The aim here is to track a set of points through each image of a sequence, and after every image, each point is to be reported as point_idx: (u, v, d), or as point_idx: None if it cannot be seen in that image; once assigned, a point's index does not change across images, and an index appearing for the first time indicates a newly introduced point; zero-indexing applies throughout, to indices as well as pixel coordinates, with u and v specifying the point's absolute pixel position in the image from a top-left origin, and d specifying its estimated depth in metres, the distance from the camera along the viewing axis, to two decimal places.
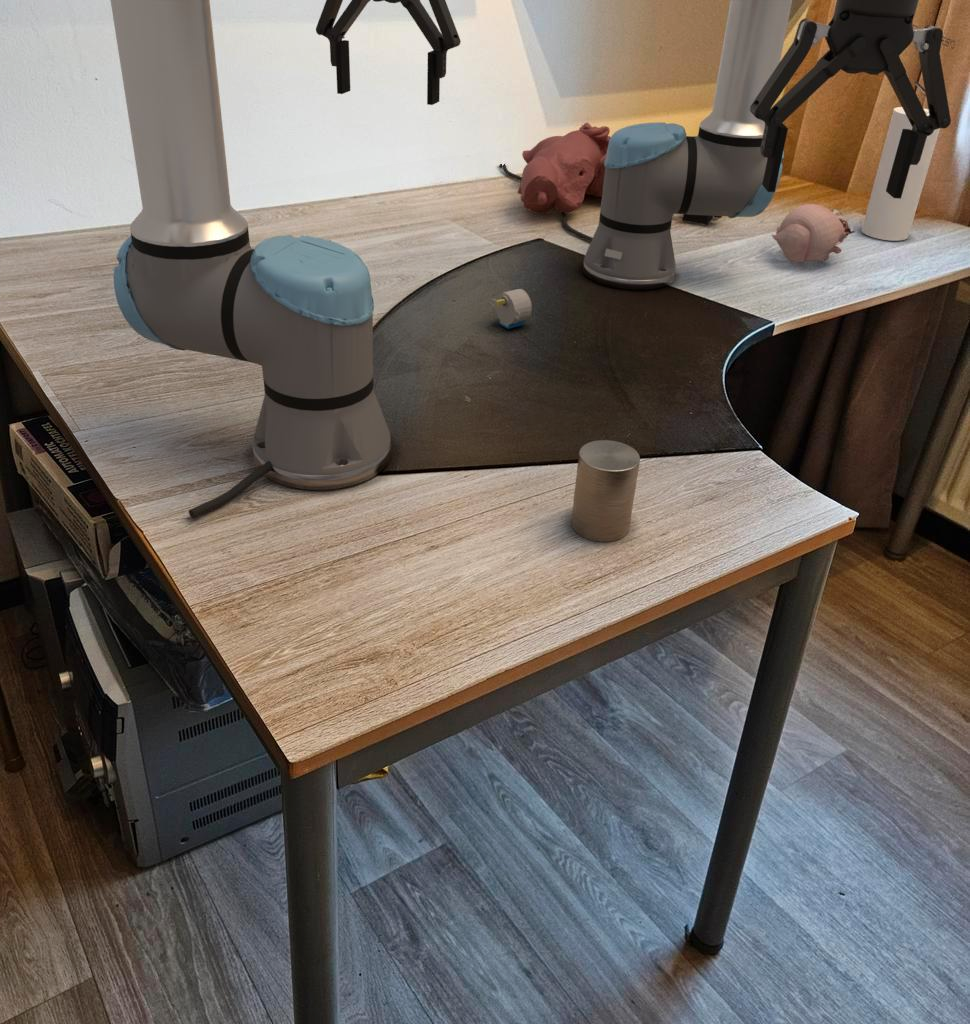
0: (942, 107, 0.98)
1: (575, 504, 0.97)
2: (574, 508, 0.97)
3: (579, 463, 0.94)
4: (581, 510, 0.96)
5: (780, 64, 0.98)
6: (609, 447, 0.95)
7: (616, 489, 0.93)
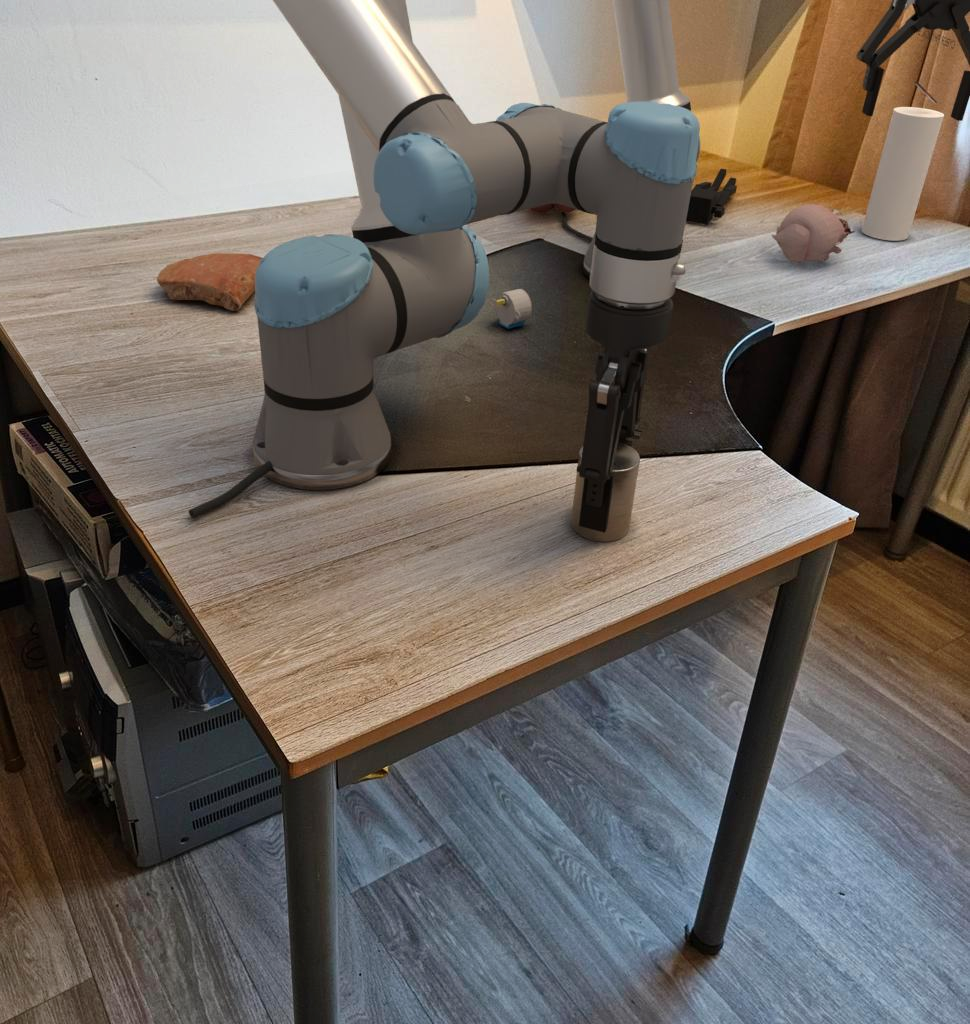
0: None
1: (575, 504, 0.97)
2: (574, 508, 0.97)
3: (579, 463, 0.94)
4: None
5: (880, 23, 1.39)
6: None
7: (616, 489, 0.93)
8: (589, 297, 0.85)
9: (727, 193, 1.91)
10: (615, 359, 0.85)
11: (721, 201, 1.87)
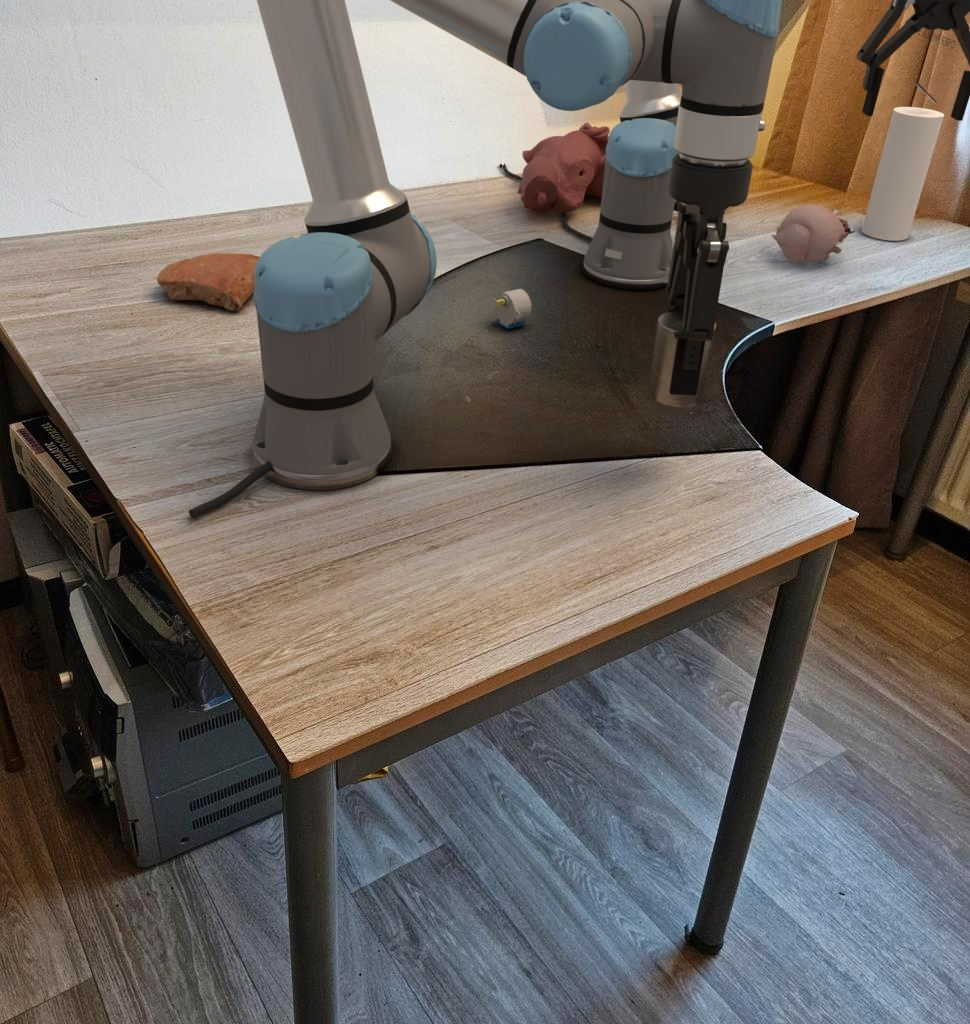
0: None
1: (659, 376, 1.01)
2: (657, 381, 1.02)
3: (663, 334, 0.99)
4: (668, 379, 1.01)
5: (880, 23, 1.39)
6: (681, 316, 1.01)
7: None
8: (677, 164, 0.90)
9: None
10: (713, 218, 0.90)
11: None
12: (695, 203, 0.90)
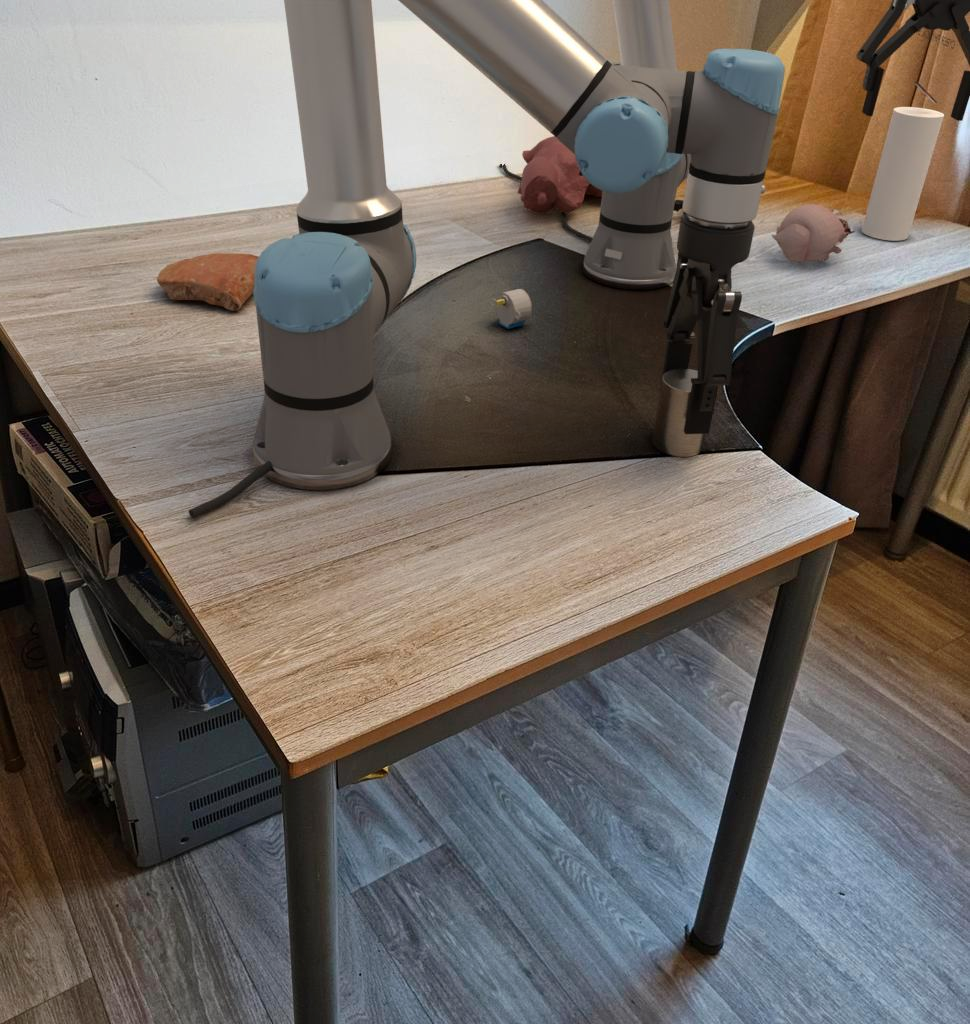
0: None
1: (665, 430, 1.10)
2: (663, 434, 1.11)
3: (670, 393, 1.08)
4: (674, 433, 1.10)
5: (880, 23, 1.39)
6: (681, 374, 1.10)
7: None
8: (688, 226, 0.98)
9: None
10: None
11: None
12: (707, 261, 0.98)
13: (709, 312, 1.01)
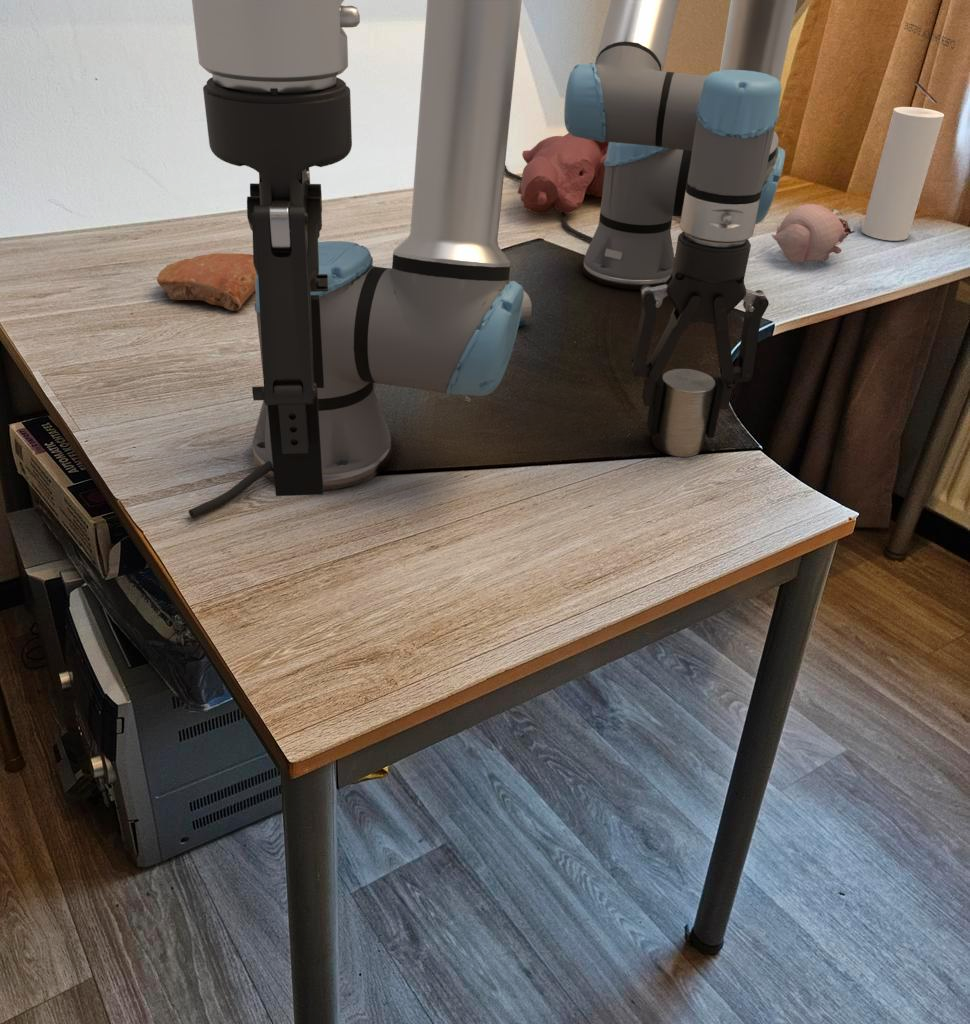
0: (748, 364, 1.06)
1: (665, 430, 1.10)
2: (663, 434, 1.11)
3: (670, 393, 1.08)
4: (674, 433, 1.10)
5: (639, 327, 1.06)
6: (681, 374, 1.10)
7: (706, 406, 1.08)
8: (206, 91, 0.49)
9: None
10: None
11: None
12: (244, 162, 0.49)
13: None
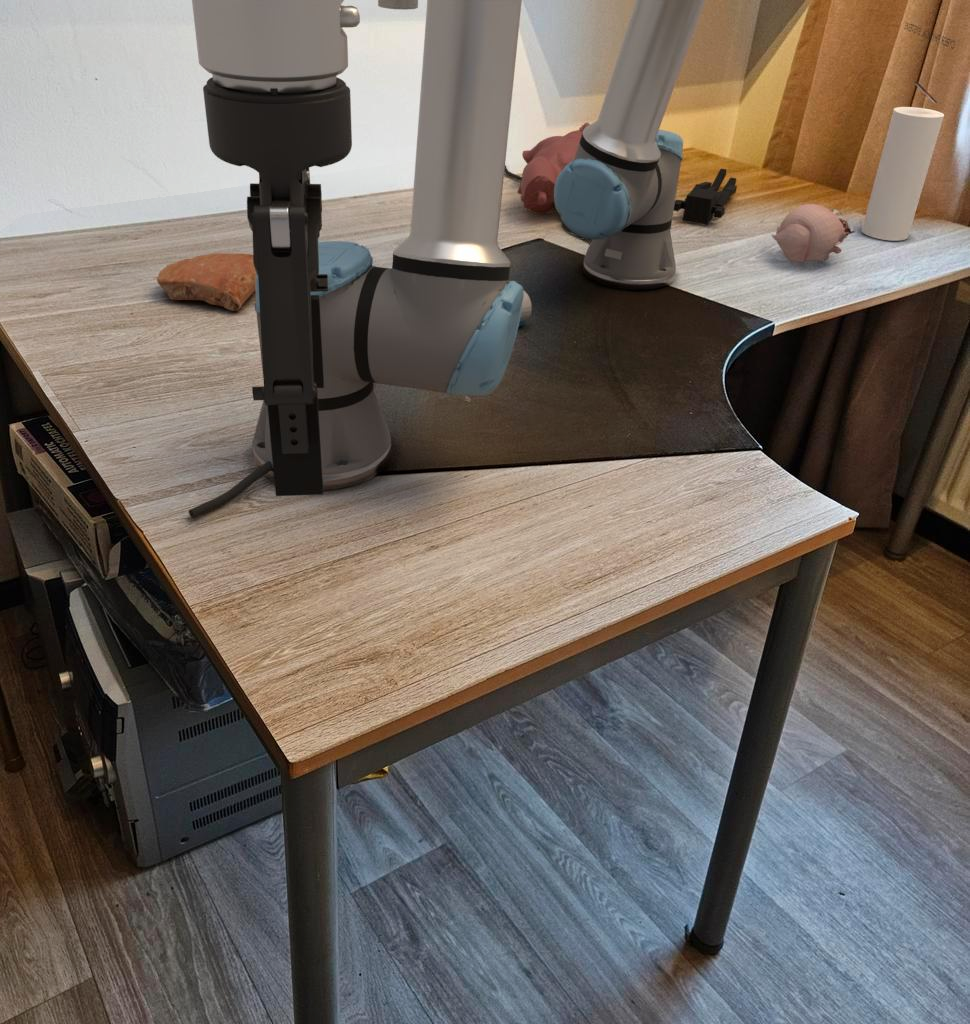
0: None
1: None
2: None
3: None
4: None
5: None
6: None
7: None
8: (206, 91, 0.49)
9: (727, 193, 1.91)
10: None
11: (721, 201, 1.87)
12: (244, 162, 0.49)
13: None
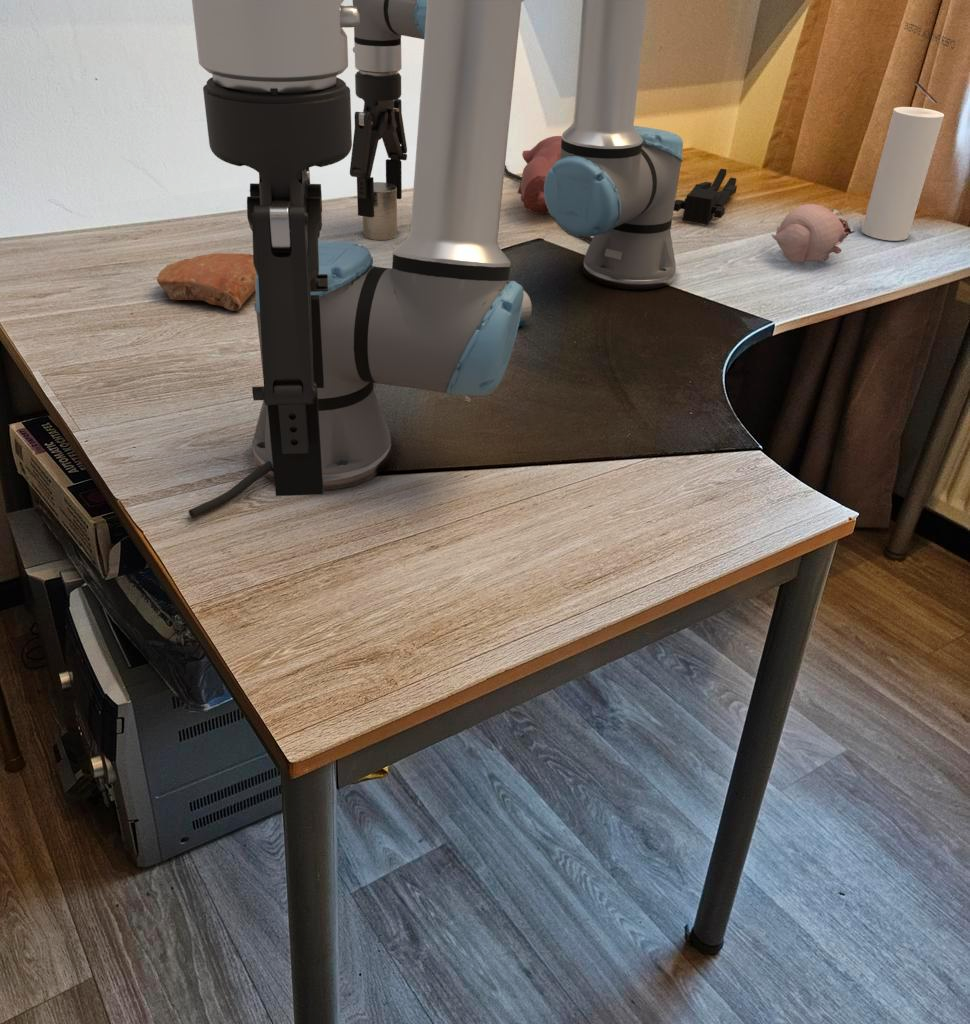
0: None
1: None
2: None
3: None
4: None
5: None
6: (387, 187, 1.67)
7: None
8: (206, 91, 0.49)
9: (727, 193, 1.91)
10: None
11: (721, 201, 1.87)
12: (244, 162, 0.49)
13: None
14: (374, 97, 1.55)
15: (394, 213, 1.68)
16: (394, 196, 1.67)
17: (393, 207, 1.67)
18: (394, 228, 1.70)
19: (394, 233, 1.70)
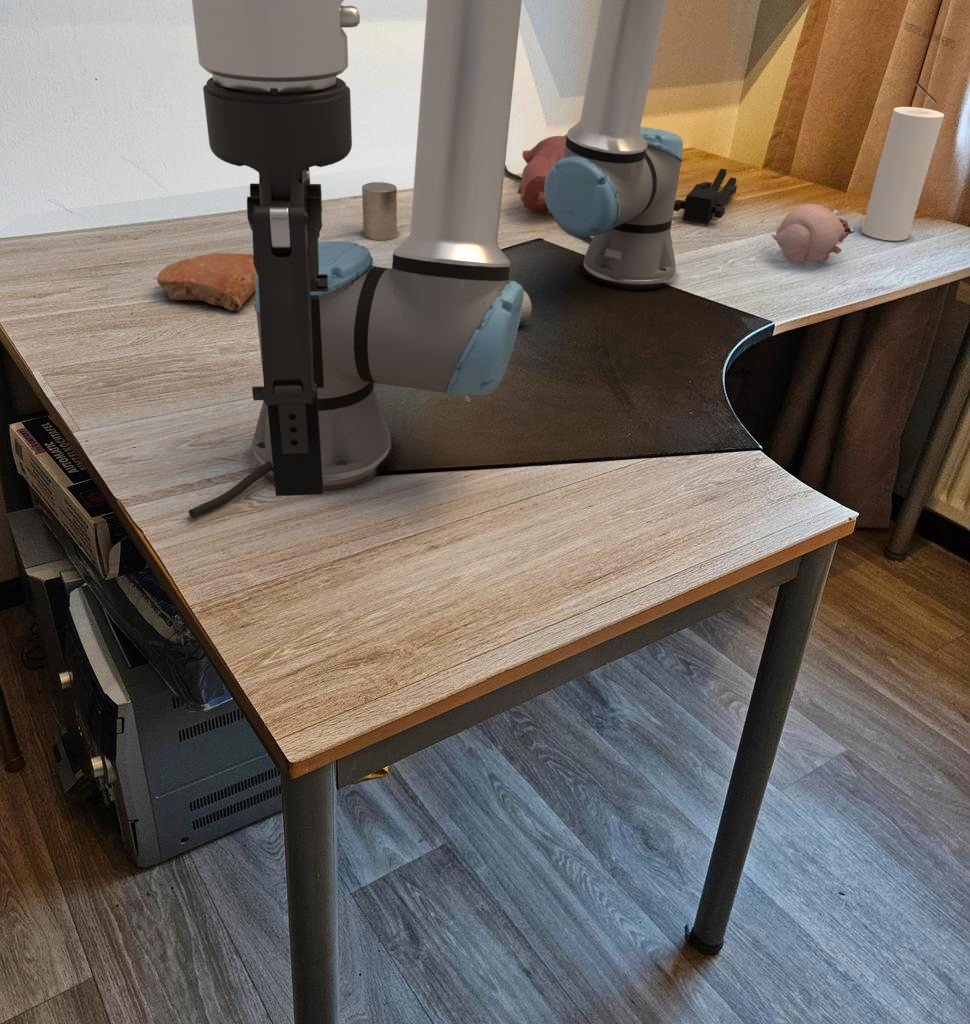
0: None
1: None
2: None
3: None
4: None
5: None
6: (387, 187, 1.67)
7: (363, 200, 1.67)
8: (206, 91, 0.49)
9: (727, 193, 1.91)
10: None
11: (721, 201, 1.87)
12: (244, 162, 0.49)
13: None
14: None
15: (394, 213, 1.68)
16: (394, 196, 1.67)
17: (393, 207, 1.67)
18: (394, 228, 1.70)
19: (394, 233, 1.70)
